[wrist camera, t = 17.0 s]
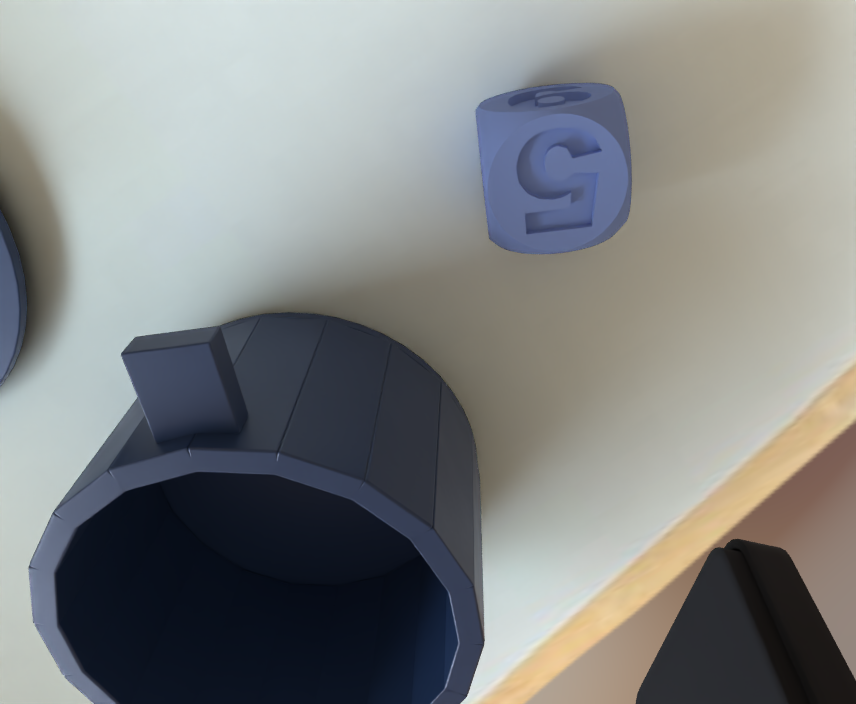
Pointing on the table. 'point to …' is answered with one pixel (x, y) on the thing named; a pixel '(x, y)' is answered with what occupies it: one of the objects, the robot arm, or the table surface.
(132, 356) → the blue cooking pot
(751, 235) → the table surface
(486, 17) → the table surface
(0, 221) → the lid
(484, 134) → the decorative dice
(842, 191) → the table surface
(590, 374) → the table surface
